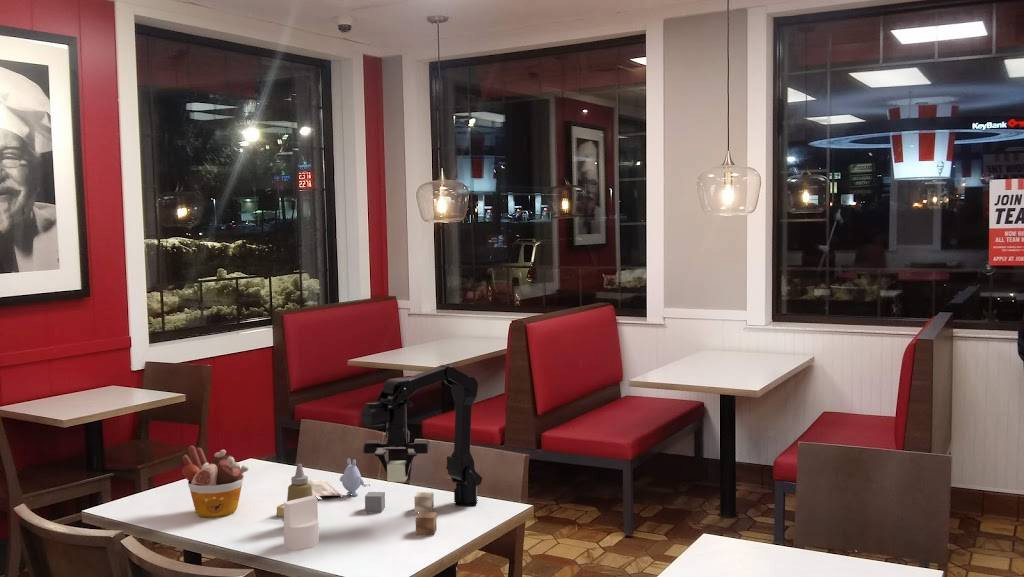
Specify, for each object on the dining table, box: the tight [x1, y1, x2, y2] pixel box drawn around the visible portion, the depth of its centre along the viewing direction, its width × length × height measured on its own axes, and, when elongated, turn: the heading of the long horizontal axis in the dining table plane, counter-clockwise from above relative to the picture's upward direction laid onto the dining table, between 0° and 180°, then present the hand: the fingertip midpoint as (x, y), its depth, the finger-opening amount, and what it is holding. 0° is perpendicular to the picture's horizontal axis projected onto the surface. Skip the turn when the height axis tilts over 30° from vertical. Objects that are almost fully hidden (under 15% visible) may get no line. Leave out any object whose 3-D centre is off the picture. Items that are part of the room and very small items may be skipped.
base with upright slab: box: [283, 496, 320, 551], centre depth 239 cm, size 9×9×12 cm
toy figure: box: [339, 457, 365, 497], centre depth 287 cm, size 11×6×12 cm, turn 55°
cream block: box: [413, 491, 435, 513], centre depth 270 cm, size 5×5×5 cm
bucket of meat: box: [181, 445, 249, 519], centre depth 269 cm, size 20×16×20 cm
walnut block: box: [415, 511, 438, 536], centre depth 248 cm, size 5×5×5 cm
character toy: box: [276, 503, 284, 518], centre depth 265 cm, size 8×3×8 cm
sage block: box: [386, 460, 409, 483], centre depth 260 cm, size 5×5×5 cm
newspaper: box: [308, 479, 344, 501], centre depth 292 cm, size 23×12×2 cm, turn 24°
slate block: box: [364, 491, 386, 514], centre depth 271 cm, size 5×5×5 cm
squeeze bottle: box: [286, 463, 313, 502], centre depth 254 cm, size 8×8×18 cm
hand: (397, 476), depth 260 cm, fingers closed on sage block, 5 cm apart
